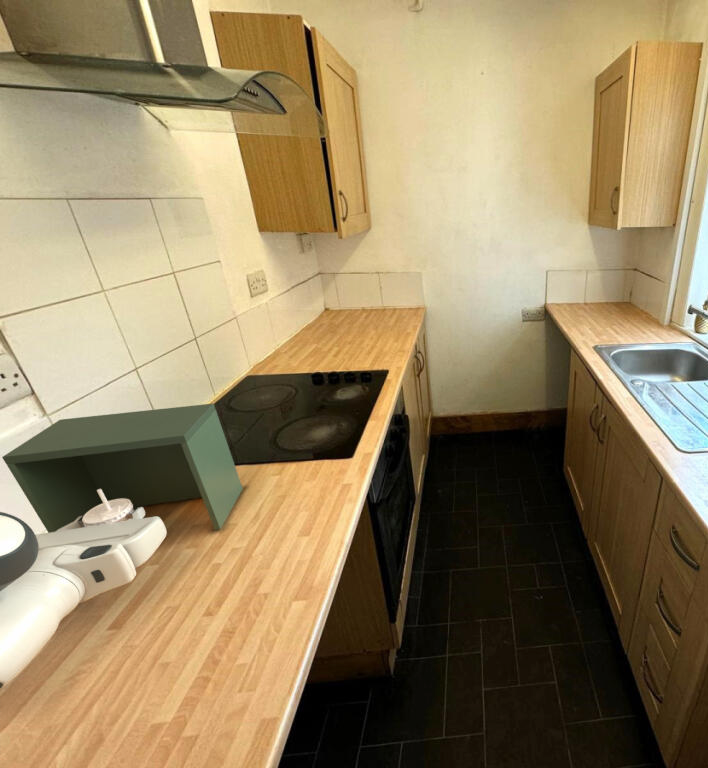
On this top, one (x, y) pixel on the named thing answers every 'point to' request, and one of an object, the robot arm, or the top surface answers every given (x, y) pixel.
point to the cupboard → (127, 463)
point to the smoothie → (108, 511)
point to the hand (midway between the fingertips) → (114, 514)
